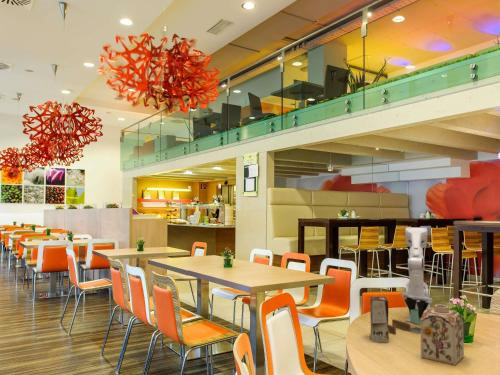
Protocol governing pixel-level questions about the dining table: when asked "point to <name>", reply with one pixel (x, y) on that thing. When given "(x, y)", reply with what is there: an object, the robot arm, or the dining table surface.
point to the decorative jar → (442, 335)
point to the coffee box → (379, 319)
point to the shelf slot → (398, 326)
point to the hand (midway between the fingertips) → (416, 317)
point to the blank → (415, 316)
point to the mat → (415, 330)
